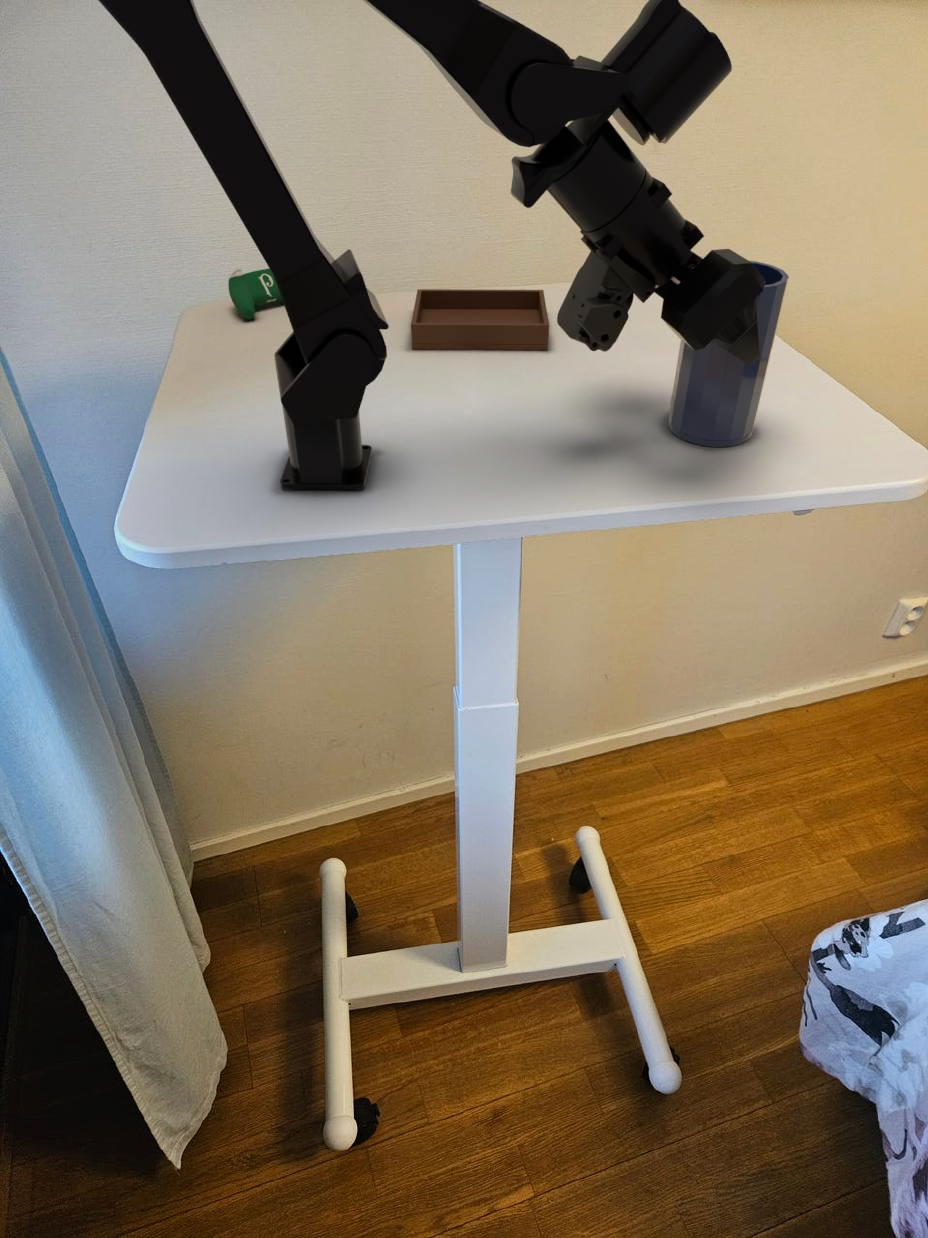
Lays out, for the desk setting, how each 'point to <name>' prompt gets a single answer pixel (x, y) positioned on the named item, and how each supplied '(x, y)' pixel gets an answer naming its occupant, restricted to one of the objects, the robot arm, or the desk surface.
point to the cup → (726, 378)
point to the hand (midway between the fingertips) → (726, 338)
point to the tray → (480, 320)
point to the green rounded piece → (252, 290)
